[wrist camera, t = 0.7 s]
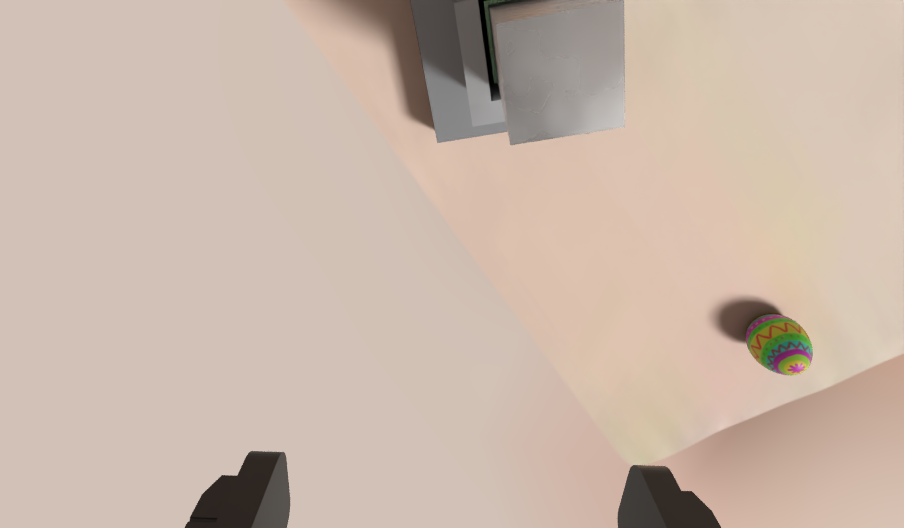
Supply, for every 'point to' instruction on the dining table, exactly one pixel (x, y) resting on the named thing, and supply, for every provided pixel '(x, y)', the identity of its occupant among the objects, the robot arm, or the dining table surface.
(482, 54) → the stand
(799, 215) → the dining table surface
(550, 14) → the column
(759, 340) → the egg
